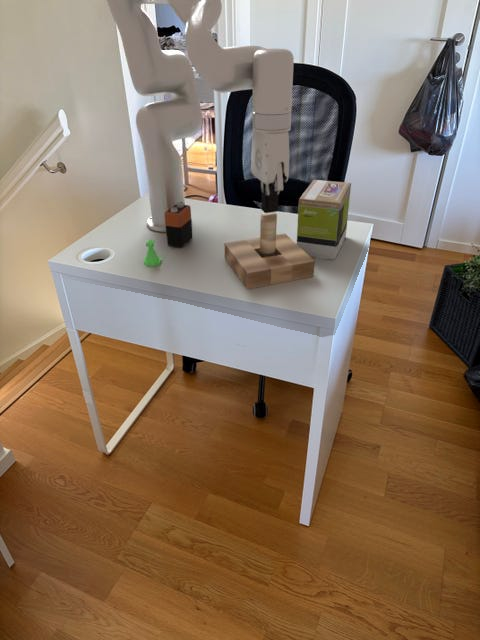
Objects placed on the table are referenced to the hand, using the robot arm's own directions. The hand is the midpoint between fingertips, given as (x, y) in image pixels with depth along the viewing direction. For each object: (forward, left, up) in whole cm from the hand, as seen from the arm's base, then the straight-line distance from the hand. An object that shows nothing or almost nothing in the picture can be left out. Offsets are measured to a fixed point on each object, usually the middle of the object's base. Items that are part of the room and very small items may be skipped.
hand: (269, 210), depth 101 cm
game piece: (-12, -25, -14) cm, 31 cm away
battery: (-21, -16, -14) cm, 30 cm away
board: (0, 0, -14) cm, 14 cm away
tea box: (-6, +17, -14) cm, 23 cm away
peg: (0, 0, -14) cm, 14 cm away
